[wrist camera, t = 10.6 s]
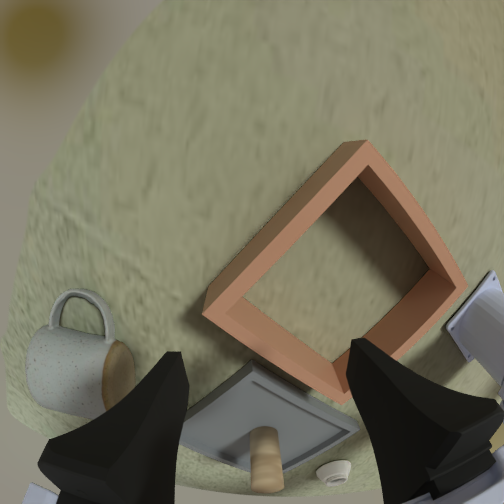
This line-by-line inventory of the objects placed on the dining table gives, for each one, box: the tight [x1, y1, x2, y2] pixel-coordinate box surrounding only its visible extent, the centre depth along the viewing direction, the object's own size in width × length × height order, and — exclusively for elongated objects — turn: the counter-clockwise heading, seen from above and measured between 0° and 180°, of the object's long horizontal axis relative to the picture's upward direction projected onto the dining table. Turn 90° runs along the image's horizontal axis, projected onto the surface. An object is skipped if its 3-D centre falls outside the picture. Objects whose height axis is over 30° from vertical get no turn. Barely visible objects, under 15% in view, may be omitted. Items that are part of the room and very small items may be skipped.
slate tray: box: [179, 360, 360, 473], centre depth 26 cm, size 16×14×2 cm
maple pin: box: [250, 426, 284, 493], centre depth 23 cm, size 3×3×7 cm
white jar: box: [316, 460, 351, 486], centre depth 30 cm, size 5×3×5 cm
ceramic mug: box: [25, 289, 135, 420], centre depth 19 cm, size 11×8×8 cm
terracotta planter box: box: [202, 140, 468, 405], centre depth 19 cm, size 14×14×4 cm
